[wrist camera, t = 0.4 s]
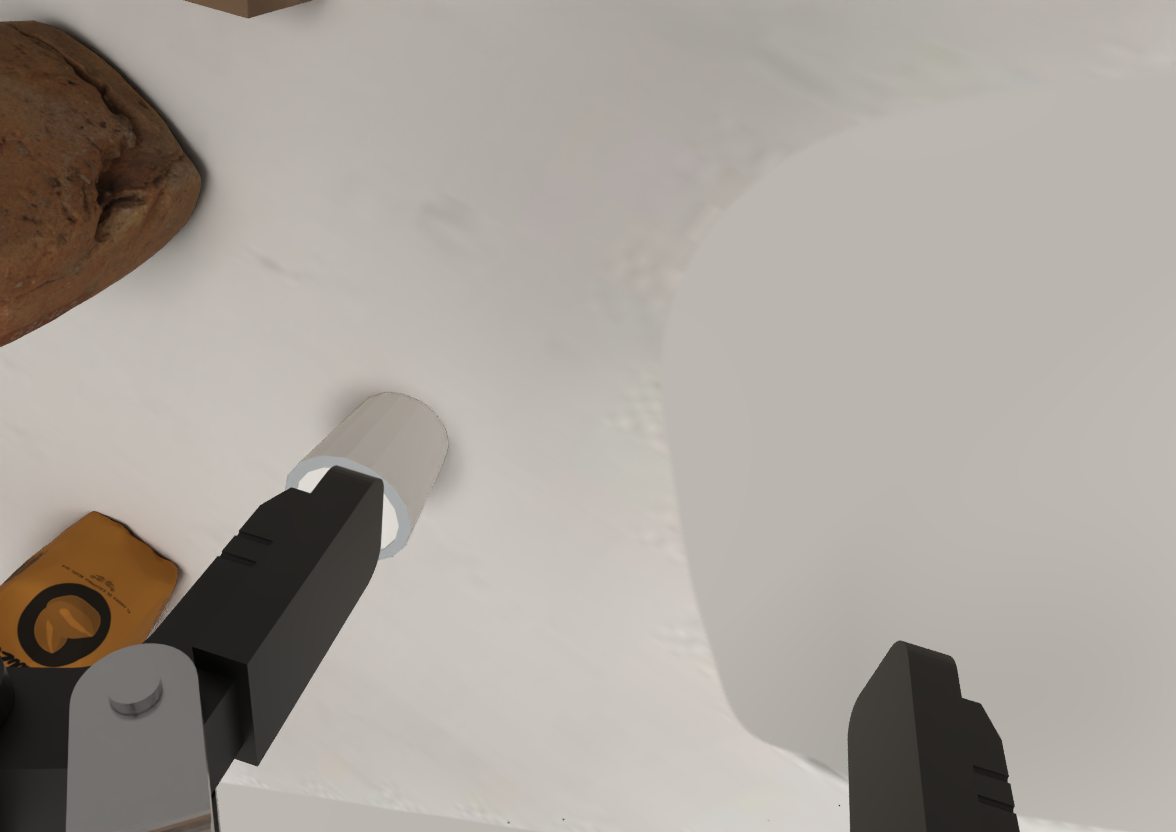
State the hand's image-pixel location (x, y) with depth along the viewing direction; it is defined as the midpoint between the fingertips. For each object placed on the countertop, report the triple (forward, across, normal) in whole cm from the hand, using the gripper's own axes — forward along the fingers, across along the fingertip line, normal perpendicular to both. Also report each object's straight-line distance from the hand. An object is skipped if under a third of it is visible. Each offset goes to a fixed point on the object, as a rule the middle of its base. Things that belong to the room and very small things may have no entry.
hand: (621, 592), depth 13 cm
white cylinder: (+26, +14, +22) cm, 37 cm away
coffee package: (+26, +34, +43) cm, 61 cm away
